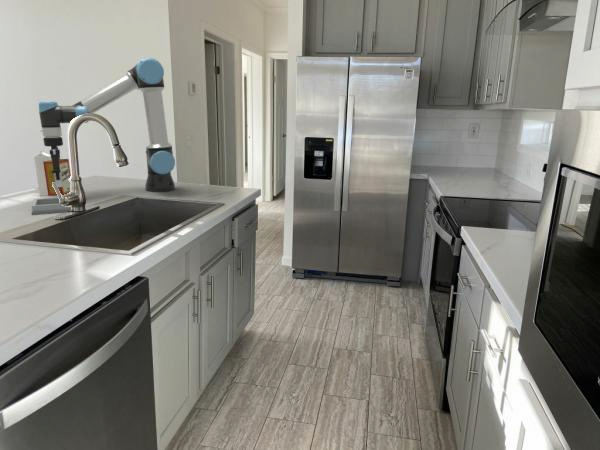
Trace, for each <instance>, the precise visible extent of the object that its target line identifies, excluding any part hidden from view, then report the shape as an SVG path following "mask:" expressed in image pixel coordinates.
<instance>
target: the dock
mask: <svg viewBox="0 0 600 450" xmlns="http://www.w3.org/2000/svg"><path fill="white" fill-rule="evenodd" d="M58 198H59V197H48V198H46V197H45V198H34V199H33V201H32V204H31V209H32V210H31V215H32V216H34V215H35V216H36V215H37V216H38V215H46V214H47V215H49V214H59V213H68V212H67V211H70V210H71V207H65V206H62V205H61V204H60V203H59V199H58Z"/></svg>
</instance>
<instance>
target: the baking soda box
mask: <svg viewBox="0 0 600 450" xmlns="http://www.w3.org/2000/svg"><path fill="white" fill-rule="evenodd" d="M43 164H44V171H45V177H46V184H47V190H48V196H49V197H58V196H57V194H56V192H55V190H54V188H53V187H52V182H55V178H54V173H52V171H53V162H52V159H51V160H47V161H43ZM59 166H60V172H61V178H62V185H63V187H58V189H59V191H60V193H61V194H62V195H64V194H66V195H68V194H67V193H69V192H70V182H69V181H68V179H69V178H70V176H71V177H72V175H71V167H70V161H69V158H60V159H59ZM69 194H70V193H69ZM48 196H47V197H48ZM64 196H65V195H64Z"/></svg>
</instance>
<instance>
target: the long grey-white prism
mask: <svg viewBox="0 0 600 450" xmlns="http://www.w3.org/2000/svg"><path fill="white" fill-rule="evenodd" d="M39 152H40V153H39V154H37V155H36V156H34V157H33V159H34V166H35V171H36V179H37V186H38V187H37V188H38V193H39V197H48V190H47V184H46V177H45V171H44V164H43V161H47V160H51V155H50V154H48V153H46V152H44V149H40V150H39Z"/></svg>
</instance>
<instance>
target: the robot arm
mask: <svg viewBox="0 0 600 450" xmlns="http://www.w3.org/2000/svg"><path fill="white" fill-rule="evenodd" d="M164 74H165V70H164V67H163V65H162V64H161V62H160V61H159V60H157V59H156V58H154V57H153V58H152V57H143V58H141V59H140V60H138V62H137V63H136V64H135V66H134V67H132V68H130V69H129V70H127V71H126V73H125V75H124V76H122V77H120V78H118V79H116V80H114V81H113V82H111V83H109V84H108V85H105V86H104V87H103V88H100V89H99V90H97V91H95V92H93V93H92V94H90V95H88V96H87V97H85V98H83V99H81V100H80V101H78V102H76V103H74V104H72V105H64V106H63V105H61V106H60V105H59V104H58V102H57V101H39V102H38V114H39V118H40V125H41V126H40V127H41V129H40V132H42V136H43V137H44V138H43V140H42V141H43V145H44V146H45V147H50V148H51V149H49V155H50V156H51V159H52V162H53V171H52V173H54V178H55V183H56V184H57V186H58V187H63V185H62V178H61V172H60V166H59V159H61V150H60V149H59V147H62V146H63V145H64V142H63V137H62V136H63V134H62V133H63V132H62V127H61V124H71V123H70V121H71V120H72V119H73V118H75V117H77V116H79V115H82V114H85V113H93V114H95V113H97V112H99V111H100V110H102V109H104V108H105V107H106V106H108V105H110V104H111V103H113V102H115V101H117V100H119V99H121V98H122V97H124V96H126V95H128V94H129V93H132V92H133V91H135V90H140V92H142V97H143V103H144V110H145V117H146V122H147V123H146V125H147V131H148V139H149V144H148V145H147V146H146V148H145V153H146V167H147V169H146V170H147V178H146V181H145V185H144V186H145V187H144V189H145V191H147V192H169V191H173V190H175V189H176V183H175V182H174V179H173V176H172V171H173V169H174V168H175V166H176V160H175V156H174V152H173V146H172V145H173V144H171V142H169V139H168V132H167V131H168V130H167V122H166V115H165V106H164V99H163V90H164V89H165V81H164V76H165V75H164ZM89 121H90V120H89ZM89 121H87V122H85V123H84V124H87V123H89Z"/></svg>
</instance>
